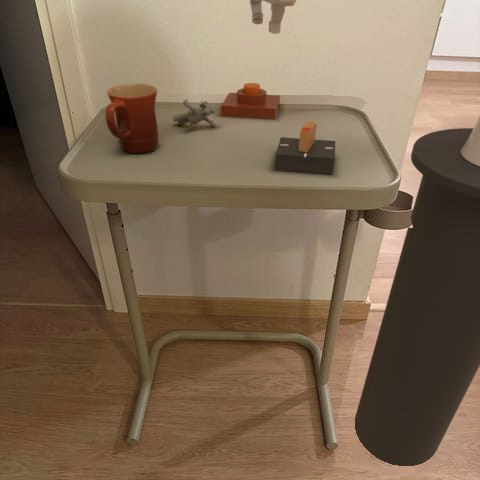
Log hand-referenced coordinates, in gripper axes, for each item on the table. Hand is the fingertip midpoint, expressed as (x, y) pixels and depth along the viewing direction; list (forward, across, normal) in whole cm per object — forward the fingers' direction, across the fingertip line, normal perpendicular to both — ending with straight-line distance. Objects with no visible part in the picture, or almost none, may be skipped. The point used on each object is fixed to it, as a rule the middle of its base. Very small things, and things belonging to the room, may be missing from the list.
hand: (265, 28), depth 89 cm
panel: (+17, +23, 0) cm, 29 cm away
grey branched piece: (+18, +1, -15) cm, 23 cm away
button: (+14, -8, 0) cm, 16 cm away
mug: (+18, +9, -28) cm, 35 cm away
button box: (+18, -8, 0) cm, 19 cm away
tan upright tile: (+14, +23, 0) cm, 27 cm away
